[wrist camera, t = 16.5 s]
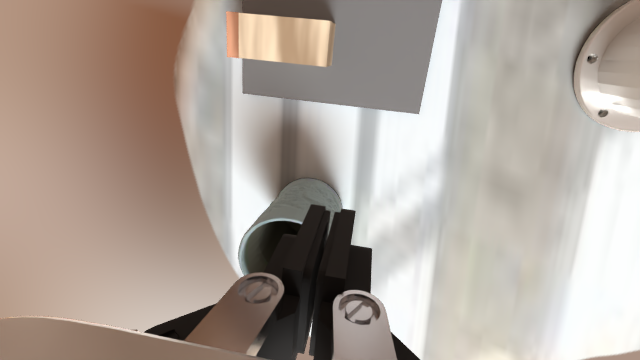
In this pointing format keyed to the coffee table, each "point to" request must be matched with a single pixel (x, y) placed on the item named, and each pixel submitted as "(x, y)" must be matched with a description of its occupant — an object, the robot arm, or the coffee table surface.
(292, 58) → the maple block
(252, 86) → the mat
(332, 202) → the grey-green cup
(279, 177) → the coffee table surface
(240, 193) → the coffee table surface
